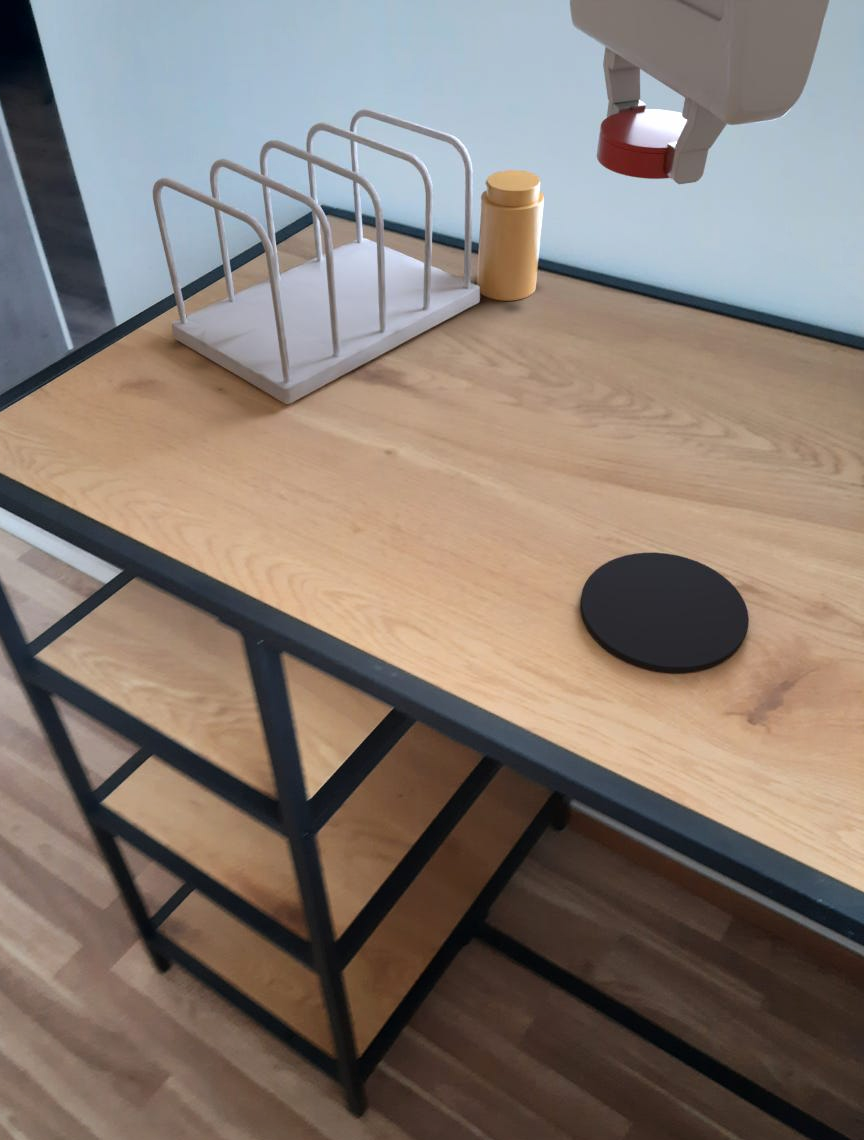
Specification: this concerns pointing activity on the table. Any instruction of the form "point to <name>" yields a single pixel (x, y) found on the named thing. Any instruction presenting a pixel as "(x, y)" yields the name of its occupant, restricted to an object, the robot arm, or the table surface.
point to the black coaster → (664, 612)
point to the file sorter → (321, 280)
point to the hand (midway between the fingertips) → (651, 155)
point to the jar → (509, 235)
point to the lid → (638, 141)
